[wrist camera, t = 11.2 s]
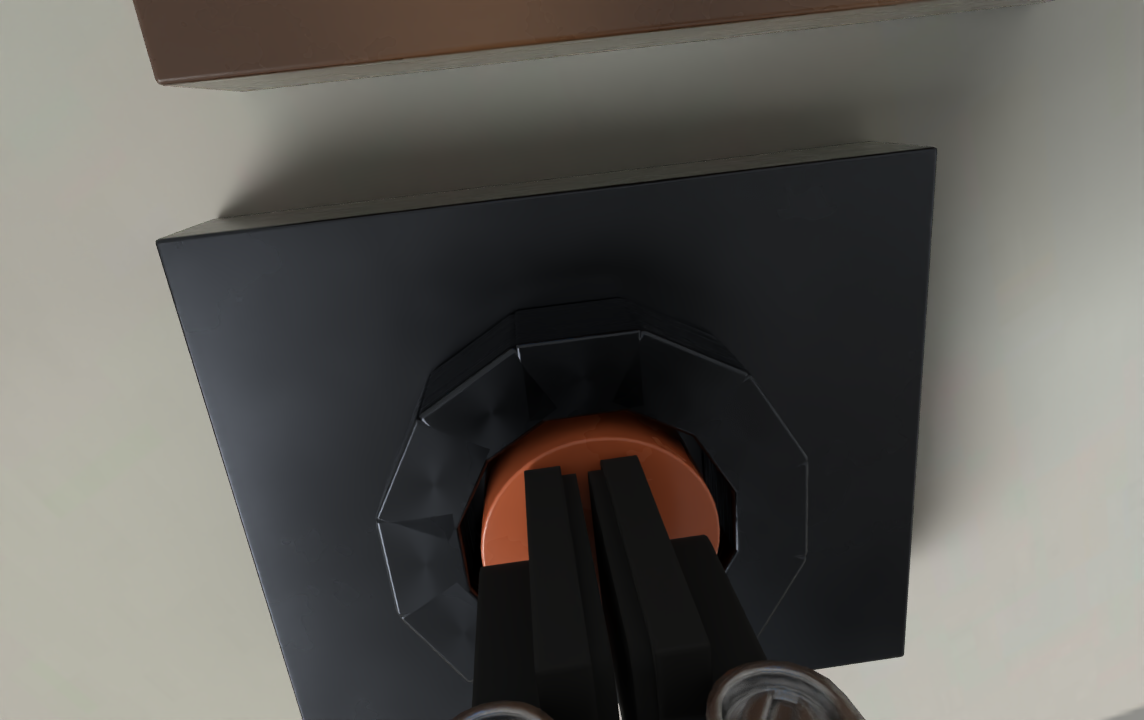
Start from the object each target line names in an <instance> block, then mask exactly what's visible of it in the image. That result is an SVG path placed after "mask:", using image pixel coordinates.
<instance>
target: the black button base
mask: <svg viewBox="0 0 1144 720" xmlns="http://www.w3.org/2000/svg"><path fill="white" fill-rule="evenodd" d="M936 161H937V148H936V147H931V146H919V145H907V144H895V143H883V142H871V141H868V142H860V143H851V144H843V145H835V146H826V147H818V148H809V149H801V150H792V151H784V152H775V153H767V154H758V155H750V156H742V157H733V158H725V159H716V160H708V161H699V162H691V163H682V164H674V165H665V166H657V167H649V168H640V169H632V170H623V171H615V172H606V173H598V174H589V175H581V176H572V177H564V178H555V179H547V180H539V181H530V182H522V183H513V184H505V185H496V186H488V187H479V188H471V189H462V190H454V191H446V192H437V193H429V194H420V195H412V196H403V197H395V198H386V199H378V200H369V201H361V202H353V203H344V204H336V205H327V206H319V207H310V208H302V209H293V210H285V211H276V212H268V213H260V214H251V215H243V216H234V217H226V218H217V219H212V220H209V221H207V222H204V223H201V224H198V225H196V226H193V227H190V228H187V229H185V230H182V231H179V232H176V233H174V234H171V235H168V236H165V237H163V238H160V239H158V240H156V246H157V249H158V252H159V256H160V259H161V262H162V265H163V269H164V272H165V275H166V278H167V282H168V285H169V288H170V291H171V295H172V298H173V301H174V304H175V308H176V311H177V314H178V317H179V321H180V324H181V327H182V330H183V334H184V337H185V340H186V343H187V346H188V350H189V353H190V356H191V359H192V363H193V366H194V369H195V372H196V376H197V379H198V382H199V385H200V389H201V392H202V395H203V398H204V402H205V405H206V408H207V411H208V415H209V418H210V421H211V424H212V428H213V431H214V434H215V437H216V440H217V444H218V447H219V450H220V453H221V457H222V460H223V463H224V466H225V470H226V473H227V476H228V479H229V483H230V486H231V489H232V492H233V496H234V499H235V502H236V505H237V509H238V512H239V515H240V518H241V522H242V525H243V528H244V531H245V535H246V538H247V541H248V544H249V547H250V551H251V554H252V557H253V560H254V564H255V567H256V570H257V573H258V577H259V580H260V583H261V586H262V590H263V593H264V596H265V599H266V603H267V606H268V609H269V612H270V616H271V619H272V622H273V625H274V629H275V632H276V635H277V638H278V641H279V645H280V648H281V651H282V654H283V658H284V661H285V664H286V667H287V671H288V674H289V677H290V680H291V684H292V687H293V690H294V693H295V697H296V700H297V703H298V706H299V710H300V713H301V716H302V719H303V720H451V719H453V718H454V717H456V716H457V715H458V714H460V713H461V712H463V711H465V710H468V709H470V708H472V695H473V676H474V658H475V640H476V622H477V603H478V585H479V572H480V568H481V567H483V564H482V557H481V533H482V518H483V502H484V487H485V477H486V472H487V468H488V465H489V462H490V461H491V460H492V459H494V458H495V457H497V456H498V455H499V454H501V453H502V452H504V451H505V450H506V449H508V448H509V447H511V446H512V445H514V444H515V443H516V442H518V441H519V440H521V439H522V438H523V437H525V436H526V435H528V434H529V433H530V432H532V431H533V430H535V429H536V428H537V427H539V426H540V425H542V424H543V423H545V422H546V421H551V420H559V419H566V418H574V417H581V416H589V415H596V414H604V413H611V412H619V411H628V412H631V413H634V414H636V415H639V416H641V417H644V418H647V419H649V420H652V421H655V422H657V423H660V424H662V425H665V426H668V427H670V428H673V429H676V431H677V432H678V434H679V435H680V437H681V438H682V440H683V441H684V443H685V445H686V447H687V449H688V451H689V453H690V455H691V457H692V458H693V460H694V462H695V464H696V466H697V468H698V470H699V472H700V474H701V475H702V477H703V479H704V481H705V483H706V485H707V487H708V489H709V491H710V493H711V495H712V497H713V499H714V502H715V505H716V509H717V512H718V516H719V525H720V541H719V547H718V553H717V556H718V558H719V560H720V562H721V564H722V566H723V568H724V570H725V572H726V574H727V576H728V579H729V581H730V583H731V585H732V587H733V589H734V591H735V593H736V595H737V597H738V599H739V601H740V604H741V606H742V608H743V610H744V612H745V614H746V616H747V618H748V620H749V622H750V624H751V626H752V628H753V631H754V633H755V635H756V637H757V639H758V641H759V643H760V645H761V647H762V649H763V651H764V653H765V656H766V658H767V660H778V661H789V662H792V663H795V664H798V665H801V666H805V667H808V668H811V669H812V670H816V669H823V668H829V667H836V666H843V665H849V664H856V663H862V662H869V661H876V660H882V659H889V658H895V657H902V656H903V655H904V645H905V630H906V615H907V600H908V585H909V570H910V555H911V540H912V524H913V509H914V494H915V479H916V464H917V449H918V434H919V419H920V403H921V388H922V373H923V358H924V343H925V328H926V313H927V297H928V282H929V267H930V252H931V237H932V222H933V207H934V192H935V176H936ZM616 692H617V691H616ZM617 702H618V703H619V701H618V696H617Z"/></svg>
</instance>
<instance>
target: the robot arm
mask: <svg viewBox="0 0 1144 720" xmlns="http://www.w3.org/2000/svg"><path fill="white" fill-rule="evenodd" d="M600 468H601V470H596V471H588V483H589V492H590V501H591V510H592V519H593V528H594V537H595V545H596V554H597V563H598V572H599V581H600V590H601V597H600V592H599V587H598V582H597V577H596V572H595V567H594V562H593V557H592V552H591V547H590V542H589V537H588V532H587V527H586V522H585V517H584V512H583V507H582V502H581V496H580V491H579V486H578V481H577V476H576V473H574V474H567V475H562V474H561V468H560V466H554V467H547V468H540V469H533V470H525V471H524V481H525V500H526V518H527V537H528V555H529V560H525V561H518V562H511V563H504V564H497V565H490V566H483V567H481V568H480V572H479V585H478V603H477V622H476V640H475V658H474V676H473V695H472V708H470V709H468V710H465V711H463V712H461V713H460V714H458V715H457V716H456V717H454V718H453V719H451V720H619V711H618V702H617V696H618V701H619V706H620V711H621V716H622V720H865V719H864V717H863V716H862V715H861V714H860V712H859V711H858V710H857V709H856V707H855V706H854V705H853V704H852V702H851V701H850V700H849V699H848V697H847V696H846V695H845V694H844V693H843V692H842V691H841V690H840V689H839V688H838V687H837V686H836V685H835V684H834V683H833V682H832V681H831V680H830V679H828V678H826V677H824V676H823V675H821V674H819V673H817V672H816V671H814V670H812V669H811V668H808V667H805V666H801V665H798V664H795V663H792V662H789V661H778V660H767V658H766V656H765V653H764V651H763V649H762V647H761V645H760V643H759V641H758V639H757V637H756V635H755V633H754V631H753V628H752V626H751V624H750V622H749V620H748V618H747V616H746V614H745V612H744V610H743V608H742V606H741V604H740V601H739V599H738V597H737V595H736V593H735V591H734V589H733V587H732V585H731V583H730V581H729V579H728V576H727V574H726V572H725V570H724V568H723V566H722V564H721V562H720V560H719V558H718V556H717V554H716V551H715V549H714V547H713V545H712V543H711V541H710V540H709V538H708V536H706V535H697V536H690V537H683V538H676V539H669V536H668V533H667V531H666V528H665V526H664V523H663V520H662V518H661V515H660V513H659V510H658V508H657V505H656V502H655V500H654V497H653V495H652V492H651V489H650V487H649V484H648V482H647V479H646V477H645V474H644V471H643V469H642V466H641V464H640V461H639V458H638V456H637V455H633V456H626V457H619V458H612V459H605V460H600ZM601 599H602V603H601ZM616 691H617V692H616Z"/></svg>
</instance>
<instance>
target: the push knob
mask: <svg viewBox="0 0 1144 720" xmlns="http://www.w3.org/2000/svg"><path fill="white" fill-rule="evenodd" d="M633 455H637V456H638V458H639V461H640V464H641V466H642V469H643V471H644V474H645V477H646V479H647V482H648V484H649V487H650V489H651V492H652V495H653V497H654V500H655V502H656V505H657V508H658V510H659V513H660V515H661V518H662V520H663V523H664V526H665V528H666V531H667V533H668V536H669V539H676V538H683V537H690V536H697V535H706V536H708V538H709V540H710V541H711V543H712V545H713V547H714V549H715V551H716V554H717V553H718V547H719V541H720V525H719V516H718V512H717V509H716V505H715V502H714V499H713V497H712V495H711V493H710V491H709V489H708V487H707V485H706V483H705V481H704V479H703V477H702V475H701V474H700V472H699V470H698V468H697V466H696V464H695V462H694V460H693V458H692V457H691V455H690V453H689V451H688V449H687V447H686V445H685V443H684V441H683V440H682V438H681V437H680V435H679V434H678V432H677V431H676V429H673V428H670V427H668V426H665V425H662V424H660V423H657V422H655V421H652V420H649V419H647V418H644V417H641V416H639V415H636V414H634V413H631V412H628V411H619V412H611V413H604V414H596V415H589V416H581V417H574V418H566V419H559V420H551V421H546V422H545V423H543V424H542V425H540V426H539V427H537V428H536V429H535V430H533V431H532V432H530V433H529V434H528V435H526V436H525V437H523V438H522V439H521V440H519V441H518V442H516V443H515V444H514V445H512V446H511V447H509V448H508V449H506V450H505V451H504V452H502V453H501V454H499V455H498V456H497V457H495V458H494V459H492V460H491V461H490V462H489V465H488V468H487V472H486V477H485V487H484V502H483V518H482V533H481V557H482V564H483V566H490V565H497V564H504V563H511V562H518V561H525V560H529V555H528V537H527V518H526V500H525V481H524V471H525V470H533V469H540V468H547V467H554V466H560V468H561V474H562V475H567V474H574V473H576V476H577V481H578V486H579V491H580V496H581V502H582V507H583V512H584V517H585V522H586V527H587V532H588V537H589V542H590V547H591V552H592V557H593V562H594V567H595V572H596V577H597V582H598V587H599V592H600V597H601V590H600V581H599V572H598V563H597V554H596V545H595V537H594V528H593V519H592V510H591V501H590V492H589V483H588V471H596V470H601V468H600V460H605V459H612V458H619V457H626V456H633ZM601 603H602V599H601Z"/></svg>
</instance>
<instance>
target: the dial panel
mask: <svg viewBox="0 0 1144 720" xmlns="http://www.w3.org/2000/svg"><path fill="white" fill-rule="evenodd" d="M1048 1H1053V0H133V3H134V6H135V10H136V13H137V17H138V20H139V24H140V27H141V31H142V34H143V38H144V41H145V45H146V48H147V52H148V55H149V59H150V62H151V66H152V69H153V73H154V76H155V79H156V81H157V83H158V84H160V85H163V86H174V87H187V88H201V89H214V90H227V91H240V92H243V91H252V90H261V89H270V88H279V87H288V86H297V85H306V84H315V83H324V82H333V81H342V80H352V79H361V78H370V77H379V76H388V75H397V74H406V73H415V72H424V71H433V70H442V69H451V68H460V67H469V66H478V65H487V64H496V63H505V62H514V61H523V60H532V59H541V58H550V57H559V56H568V55H577V54H586V53H595V52H604V51H613V50H623V49H632V48H641V47H650V46H659V45H668V44H677V43H686V42H695V41H704V40H713V39H722V38H731V37H740V36H749V35H758V34H767V33H776V32H785V31H794V30H803V29H812V28H821V27H830V26H839V25H848V24H857V23H866V22H875V21H885V20H894V19H903V18H912V17H921V16H930V15H939V14H948V13H957V12H966V11H975V10H984V9H993V8H1002V7H1011V6H1020V5H1029V4H1038V3H1043V2H1048Z"/></svg>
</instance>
